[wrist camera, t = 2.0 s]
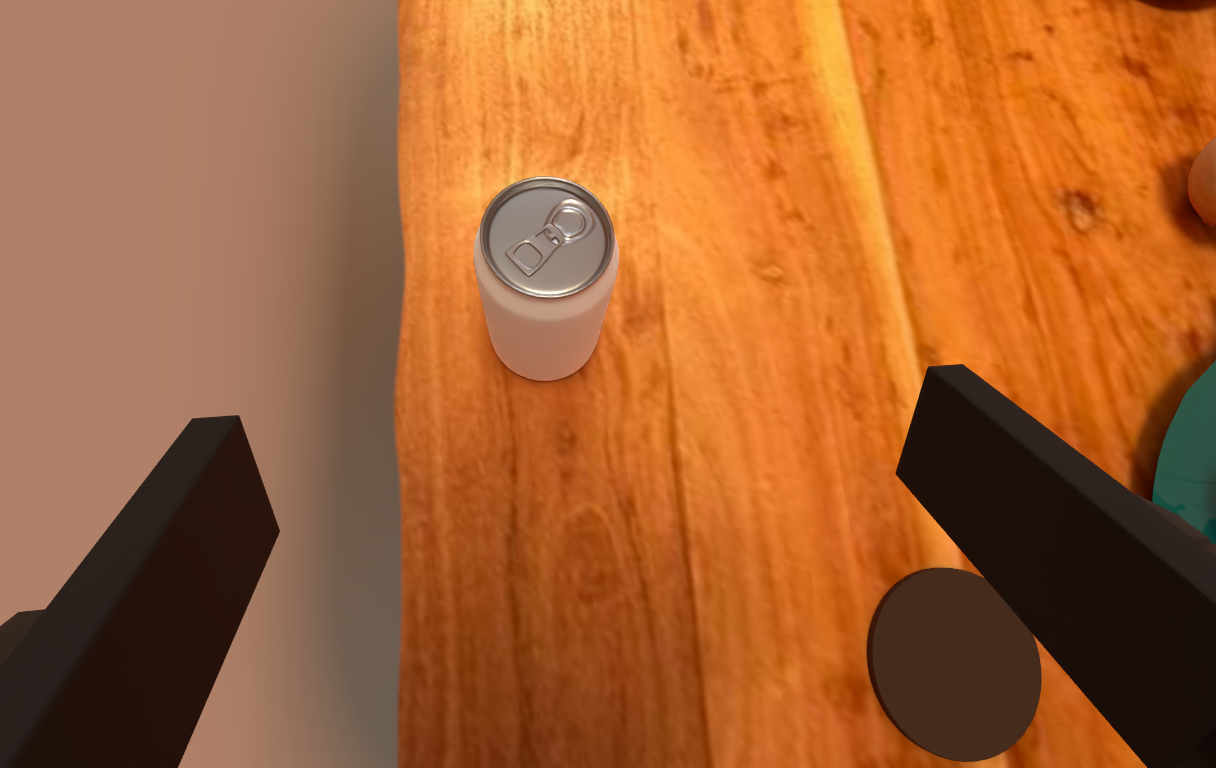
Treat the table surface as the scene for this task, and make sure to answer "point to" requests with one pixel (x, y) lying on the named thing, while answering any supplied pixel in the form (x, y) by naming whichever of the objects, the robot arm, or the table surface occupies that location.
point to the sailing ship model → (1191, 458)
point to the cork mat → (954, 665)
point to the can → (545, 275)
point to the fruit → (1204, 184)
